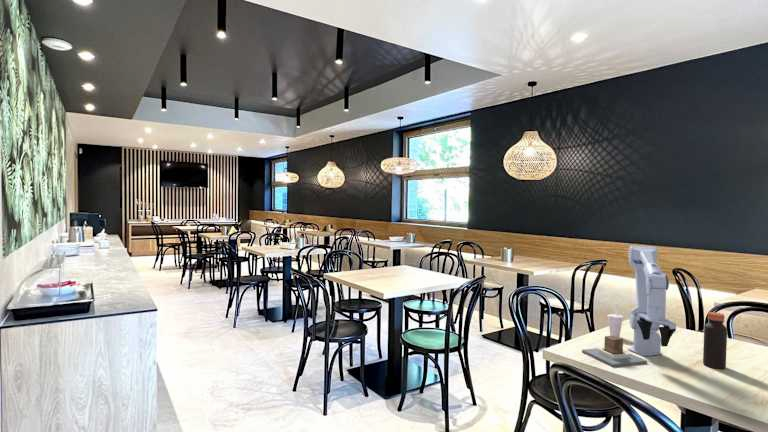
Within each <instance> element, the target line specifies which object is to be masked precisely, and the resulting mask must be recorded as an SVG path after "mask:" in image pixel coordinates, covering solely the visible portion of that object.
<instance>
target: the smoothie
mask: <svg viewBox="0 0 768 432" xmlns="http://www.w3.org/2000/svg"><path fill="white" fill-rule="evenodd" d="M618 308H619V306H616V307H615V313H610V314H607V318H608V326H609V336H613V335H614V336H617V337H619V338H621V337H620V336H621V331H622V330H621V329H622V325H623V320H624V316H623V315H621V314H618V313H619V309H618Z"/></svg>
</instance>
